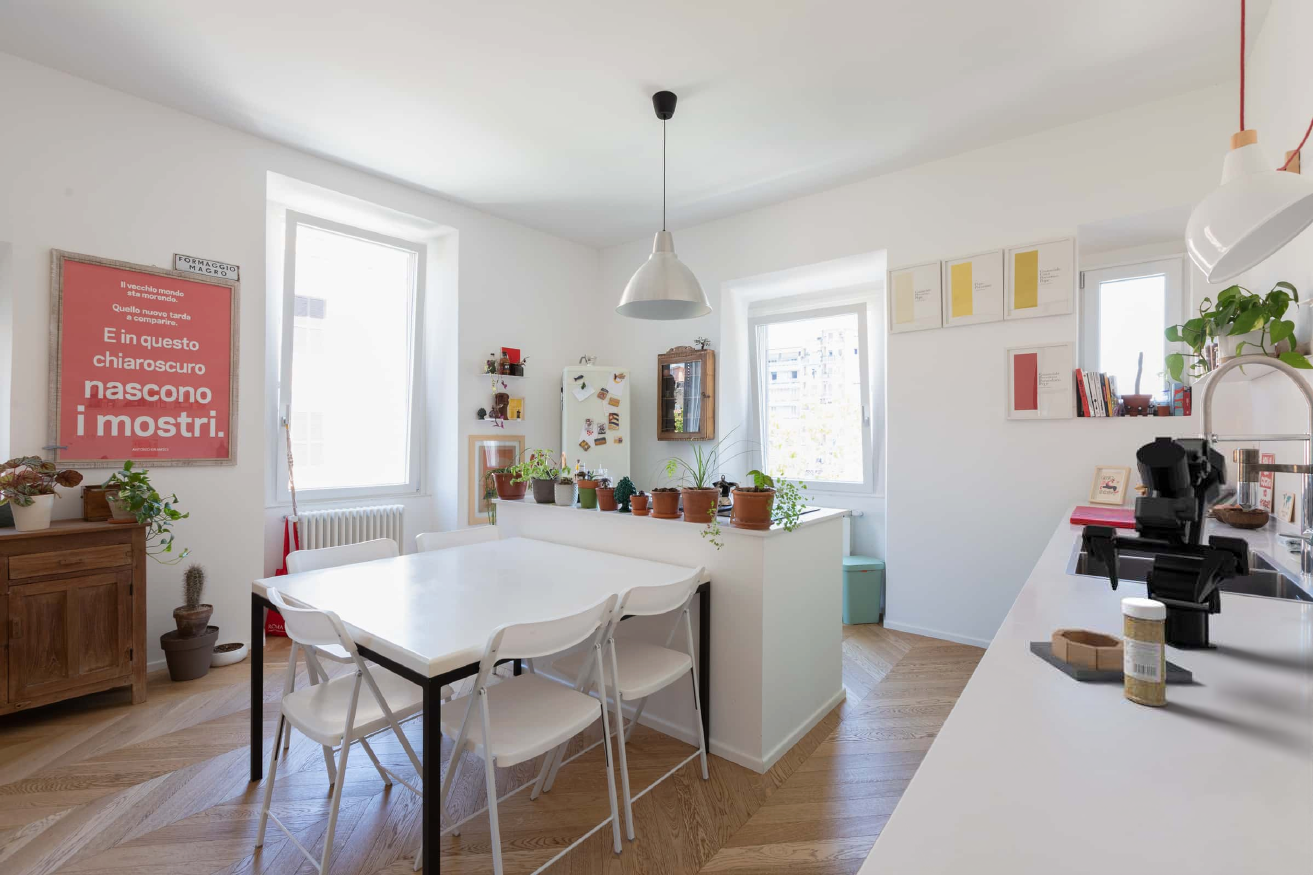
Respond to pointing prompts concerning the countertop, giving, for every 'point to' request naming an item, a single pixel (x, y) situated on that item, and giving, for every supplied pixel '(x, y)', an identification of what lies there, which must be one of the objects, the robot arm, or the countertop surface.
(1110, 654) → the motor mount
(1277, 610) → the countertop surface
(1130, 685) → the sprinkles bottle
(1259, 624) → the countertop surface
